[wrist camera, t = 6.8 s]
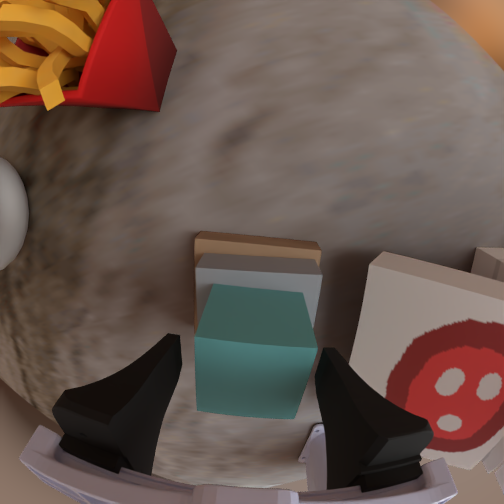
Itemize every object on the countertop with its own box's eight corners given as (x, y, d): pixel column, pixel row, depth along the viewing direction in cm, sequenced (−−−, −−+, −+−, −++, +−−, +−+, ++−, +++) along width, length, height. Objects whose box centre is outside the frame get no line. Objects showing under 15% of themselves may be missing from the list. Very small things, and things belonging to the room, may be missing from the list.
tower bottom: (297, 332, 22) (300, 351, 20) (201, 323, 22) (194, 341, 20) (314, 239, 19) (321, 250, 17) (202, 228, 19) (194, 238, 17)
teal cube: (287, 359, 17) (294, 419, 12) (210, 352, 17) (196, 410, 12) (302, 292, 15) (318, 348, 11) (213, 283, 15) (194, 336, 11)
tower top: (300, 347, 20) (304, 369, 17) (206, 341, 20) (200, 363, 17) (314, 259, 17) (322, 275, 15) (204, 252, 17) (195, 267, 15)
